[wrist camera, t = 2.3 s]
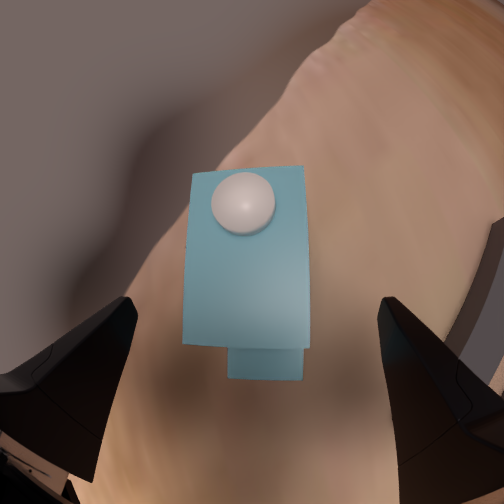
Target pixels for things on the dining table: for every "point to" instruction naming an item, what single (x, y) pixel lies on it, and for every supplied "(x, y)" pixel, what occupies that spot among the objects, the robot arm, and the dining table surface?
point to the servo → (249, 270)
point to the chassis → (483, 313)
